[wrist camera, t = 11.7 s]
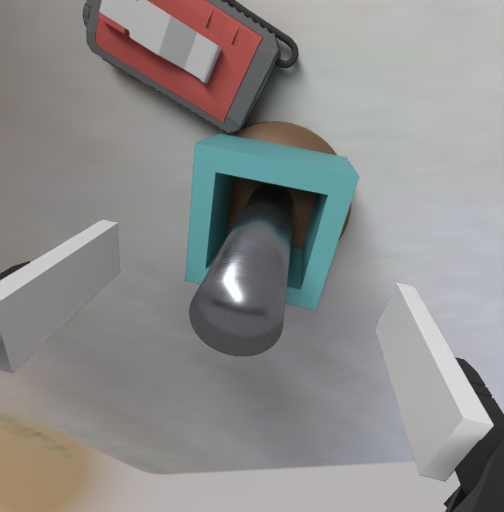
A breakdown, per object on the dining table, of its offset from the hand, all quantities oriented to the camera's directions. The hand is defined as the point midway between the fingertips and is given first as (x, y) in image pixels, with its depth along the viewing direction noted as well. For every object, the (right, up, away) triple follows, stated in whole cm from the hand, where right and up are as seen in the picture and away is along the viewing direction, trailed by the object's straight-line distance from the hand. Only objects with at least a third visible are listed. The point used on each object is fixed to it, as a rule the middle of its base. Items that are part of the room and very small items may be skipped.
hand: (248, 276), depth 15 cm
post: (+2, +5, +9) cm, 11 cm away
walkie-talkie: (-6, +18, +7) cm, 20 cm away
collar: (+2, +5, +9) cm, 11 cm away
